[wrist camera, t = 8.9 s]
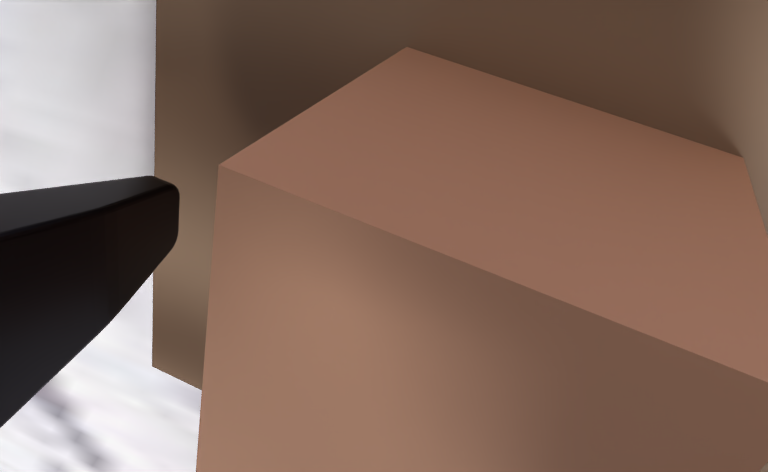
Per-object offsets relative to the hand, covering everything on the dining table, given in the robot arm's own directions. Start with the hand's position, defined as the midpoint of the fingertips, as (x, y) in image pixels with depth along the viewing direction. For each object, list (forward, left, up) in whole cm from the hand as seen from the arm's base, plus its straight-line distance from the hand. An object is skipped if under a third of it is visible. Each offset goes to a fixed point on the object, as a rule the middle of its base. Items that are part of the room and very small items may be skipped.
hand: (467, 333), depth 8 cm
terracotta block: (0, 0, -3) cm, 3 cm away
